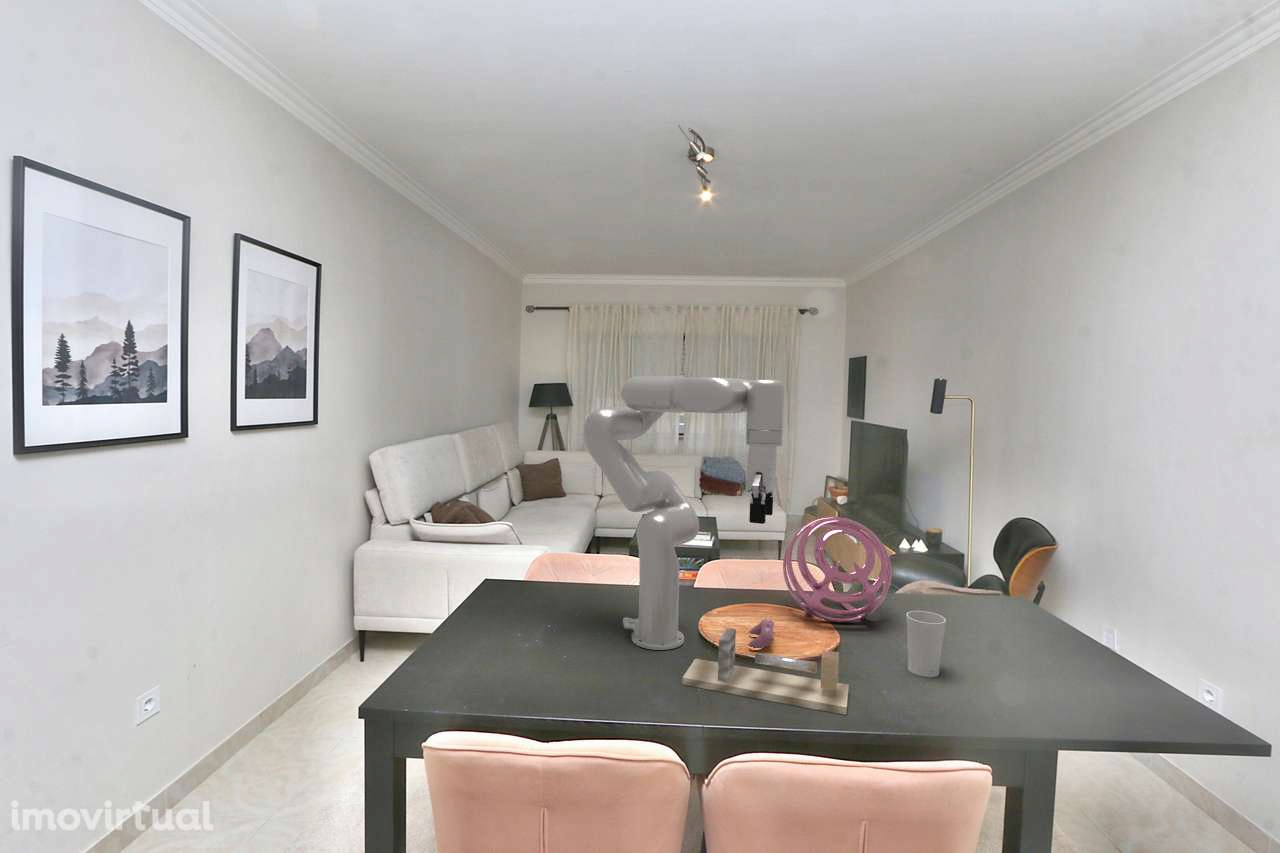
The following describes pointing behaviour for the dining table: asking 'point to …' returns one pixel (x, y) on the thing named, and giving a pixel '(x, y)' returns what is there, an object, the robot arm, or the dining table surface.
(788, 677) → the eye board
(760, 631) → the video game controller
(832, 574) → the spiral basket
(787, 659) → the peg
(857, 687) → the dining table surface
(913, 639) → the cup
